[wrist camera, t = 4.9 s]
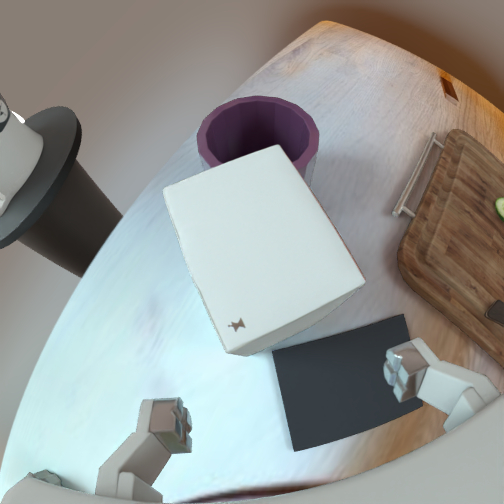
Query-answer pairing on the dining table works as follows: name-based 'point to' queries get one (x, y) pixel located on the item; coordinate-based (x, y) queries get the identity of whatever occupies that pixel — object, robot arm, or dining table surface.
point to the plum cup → (258, 132)
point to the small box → (260, 250)
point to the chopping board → (459, 239)
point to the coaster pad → (340, 384)
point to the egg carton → (46, 477)
